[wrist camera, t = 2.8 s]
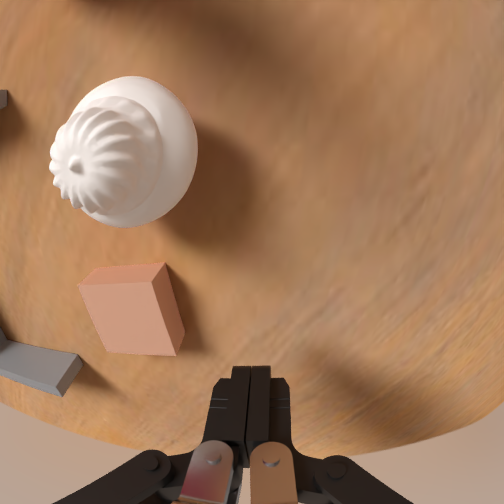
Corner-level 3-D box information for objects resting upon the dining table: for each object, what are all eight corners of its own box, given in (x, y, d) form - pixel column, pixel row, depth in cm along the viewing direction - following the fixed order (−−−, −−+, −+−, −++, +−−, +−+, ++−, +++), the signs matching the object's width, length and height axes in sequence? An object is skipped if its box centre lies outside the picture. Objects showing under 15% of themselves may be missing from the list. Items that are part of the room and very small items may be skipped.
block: (166, 260, 16) (151, 281, 14) (186, 329, 18) (176, 355, 16) (97, 265, 17) (77, 285, 15) (121, 329, 19) (107, 351, 17)
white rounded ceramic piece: (114, 82, 12) (19, 71, 6) (227, 93, 12) (184, 66, 6) (99, 193, 15) (12, 241, 8) (201, 215, 15) (151, 286, 8)
